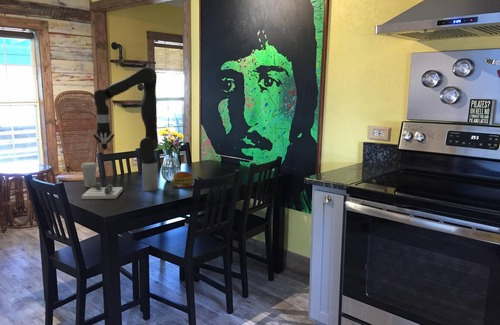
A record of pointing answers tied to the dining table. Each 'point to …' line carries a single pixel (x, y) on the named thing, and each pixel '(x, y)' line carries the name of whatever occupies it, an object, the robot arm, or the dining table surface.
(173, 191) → the dining table surface
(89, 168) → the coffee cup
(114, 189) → the switch panel
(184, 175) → the burger
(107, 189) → the front switch
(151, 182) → the robot arm
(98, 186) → the back switch
